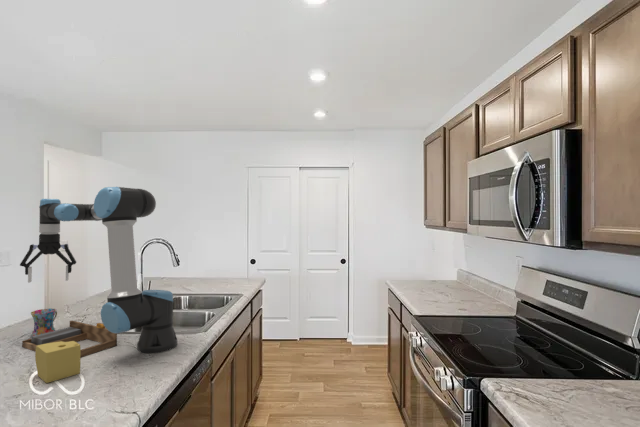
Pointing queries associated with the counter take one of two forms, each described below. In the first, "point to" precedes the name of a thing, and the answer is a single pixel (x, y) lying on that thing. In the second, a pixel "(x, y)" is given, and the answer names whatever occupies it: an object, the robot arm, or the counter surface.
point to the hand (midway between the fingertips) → (48, 281)
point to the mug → (43, 321)
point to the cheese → (57, 360)
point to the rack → (76, 337)
